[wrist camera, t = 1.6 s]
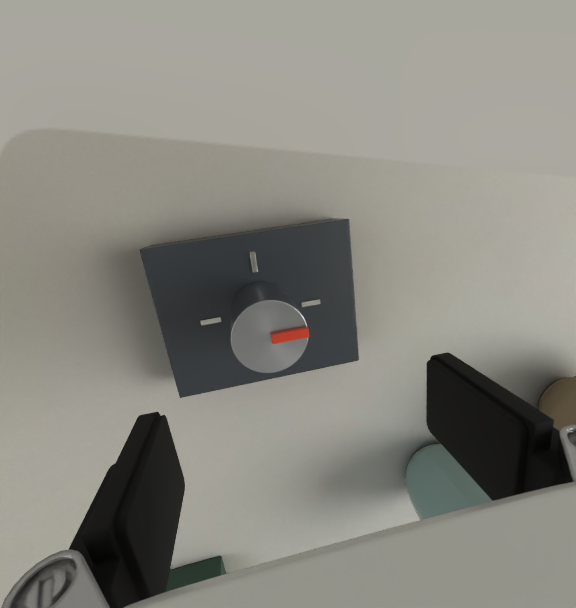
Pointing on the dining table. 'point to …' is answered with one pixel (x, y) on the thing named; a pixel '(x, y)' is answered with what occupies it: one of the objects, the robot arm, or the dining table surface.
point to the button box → (195, 573)
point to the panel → (236, 275)
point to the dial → (267, 328)
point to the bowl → (560, 402)
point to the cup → (440, 483)
